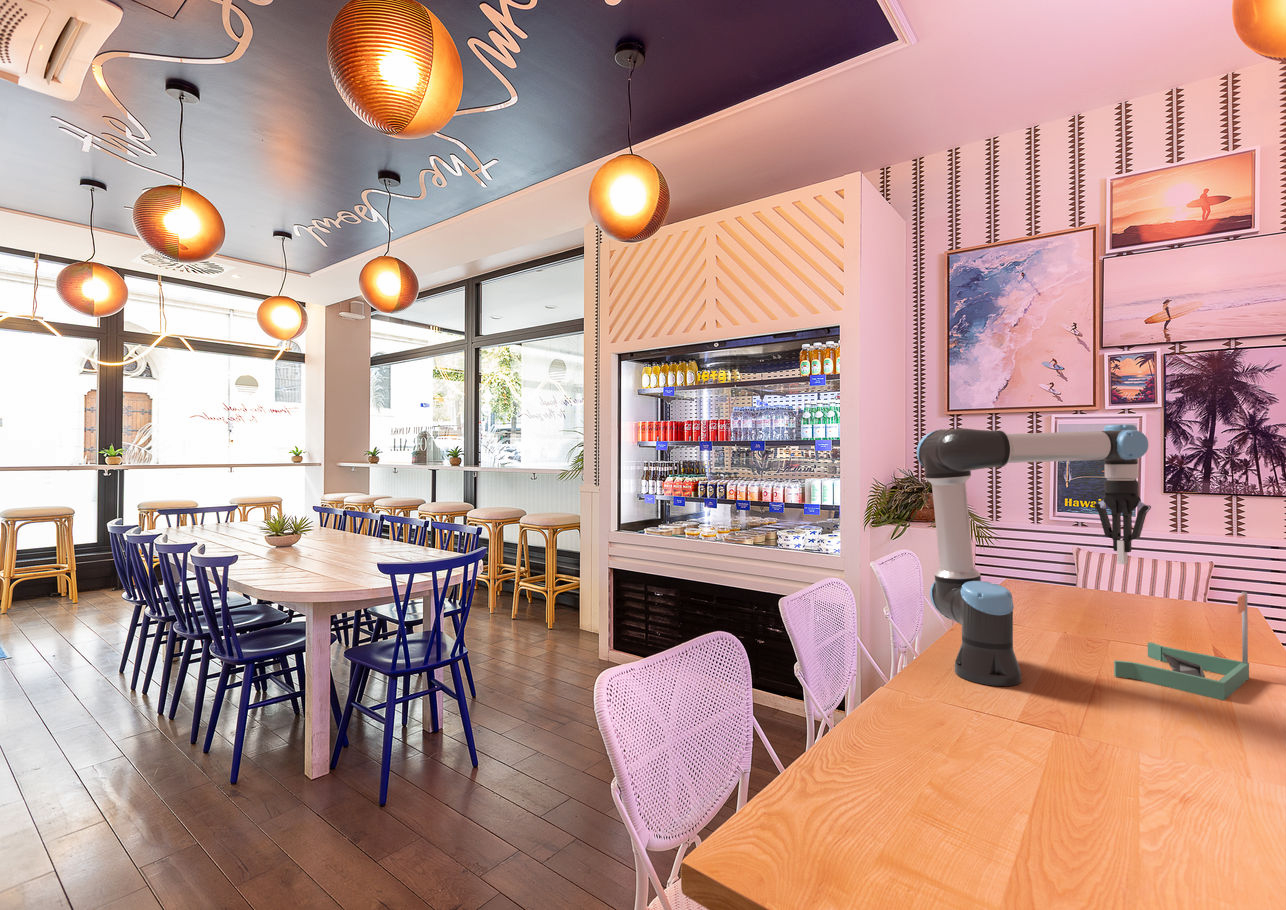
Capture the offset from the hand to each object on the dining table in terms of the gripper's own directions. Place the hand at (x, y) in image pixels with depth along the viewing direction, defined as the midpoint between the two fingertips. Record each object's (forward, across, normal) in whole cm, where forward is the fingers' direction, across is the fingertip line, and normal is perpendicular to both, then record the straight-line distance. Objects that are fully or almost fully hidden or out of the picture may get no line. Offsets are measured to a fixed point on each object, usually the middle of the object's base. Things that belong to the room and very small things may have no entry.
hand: (1122, 563), depth 174 cm
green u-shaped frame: (+27, -14, +6) cm, 31 cm away
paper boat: (+27, -16, +11) cm, 33 cm away
